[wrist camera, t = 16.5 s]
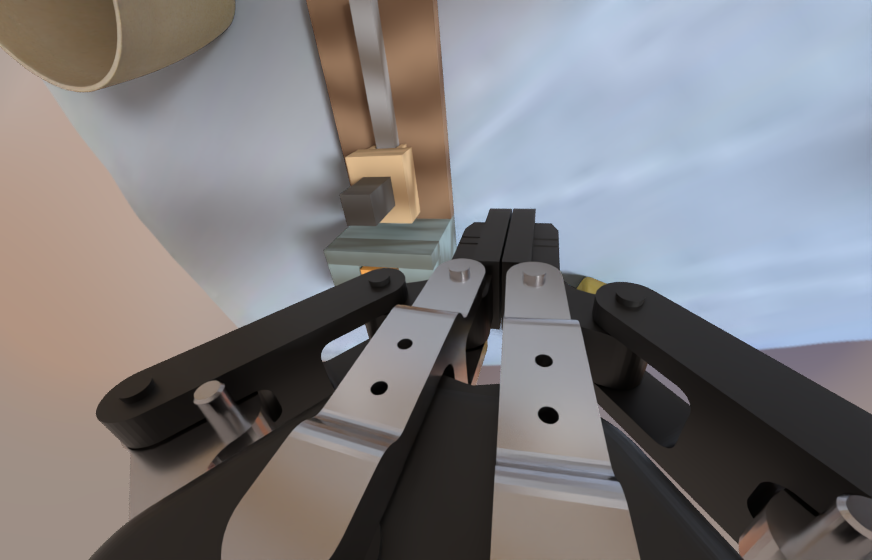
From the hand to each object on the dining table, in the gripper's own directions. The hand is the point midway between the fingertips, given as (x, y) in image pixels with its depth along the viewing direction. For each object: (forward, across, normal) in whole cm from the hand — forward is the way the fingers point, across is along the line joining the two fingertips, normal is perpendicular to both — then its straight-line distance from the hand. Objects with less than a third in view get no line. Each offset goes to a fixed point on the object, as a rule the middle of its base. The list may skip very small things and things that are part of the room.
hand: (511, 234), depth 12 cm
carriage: (+25, +15, +6) cm, 30 cm away
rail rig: (+27, +15, +4) cm, 31 cm away
